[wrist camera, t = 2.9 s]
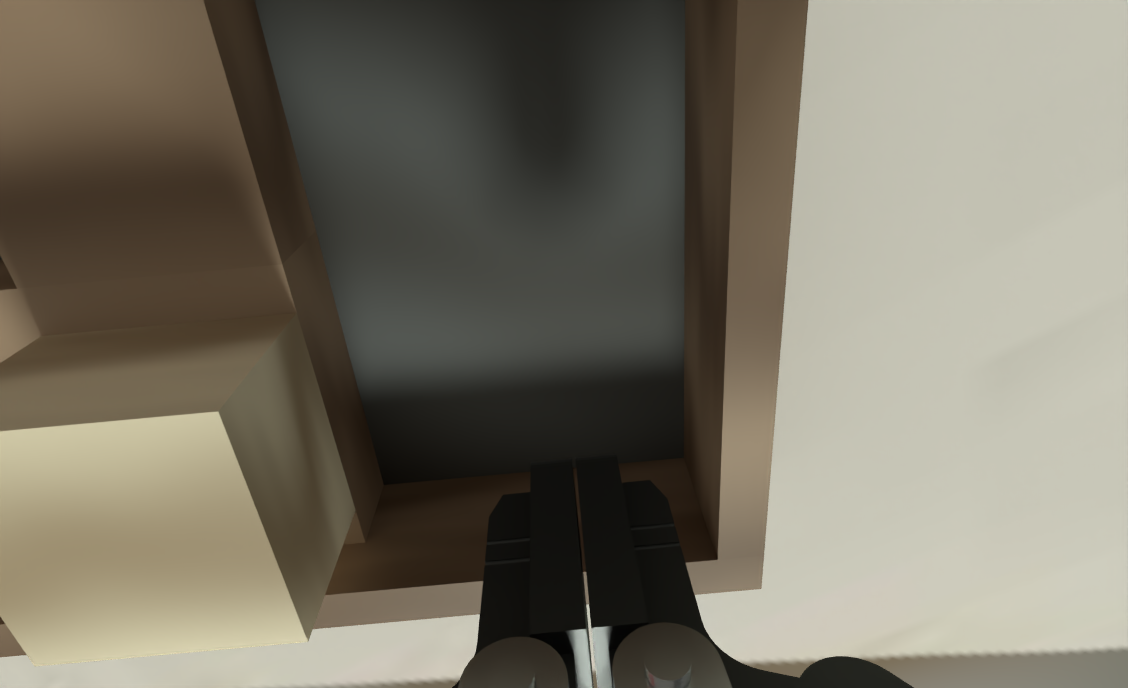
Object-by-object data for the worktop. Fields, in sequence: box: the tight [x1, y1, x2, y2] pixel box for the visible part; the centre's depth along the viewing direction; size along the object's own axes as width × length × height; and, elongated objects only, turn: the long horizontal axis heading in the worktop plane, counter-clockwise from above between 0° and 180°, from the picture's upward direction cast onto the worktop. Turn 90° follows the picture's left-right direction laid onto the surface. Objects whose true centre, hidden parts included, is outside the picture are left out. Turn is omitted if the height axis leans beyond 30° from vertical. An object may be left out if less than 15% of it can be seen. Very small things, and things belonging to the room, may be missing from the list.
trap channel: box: [0, 0, 808, 657], centre depth 13 cm, size 14×26×4 cm, turn 95°
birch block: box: [0, 313, 355, 666], centre depth 12 cm, size 5×5×4 cm
